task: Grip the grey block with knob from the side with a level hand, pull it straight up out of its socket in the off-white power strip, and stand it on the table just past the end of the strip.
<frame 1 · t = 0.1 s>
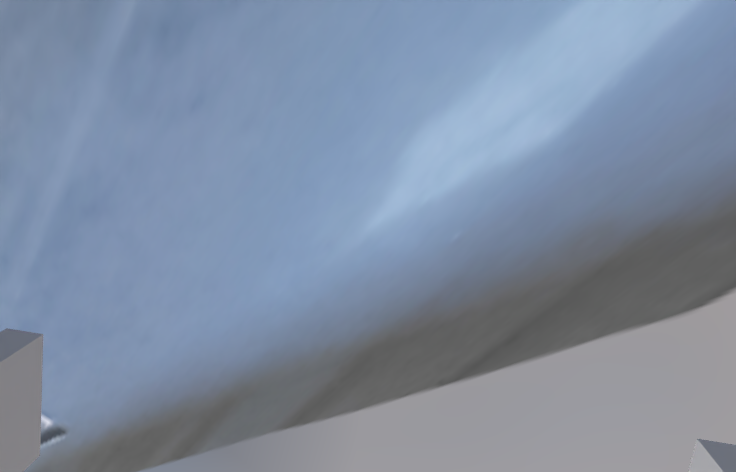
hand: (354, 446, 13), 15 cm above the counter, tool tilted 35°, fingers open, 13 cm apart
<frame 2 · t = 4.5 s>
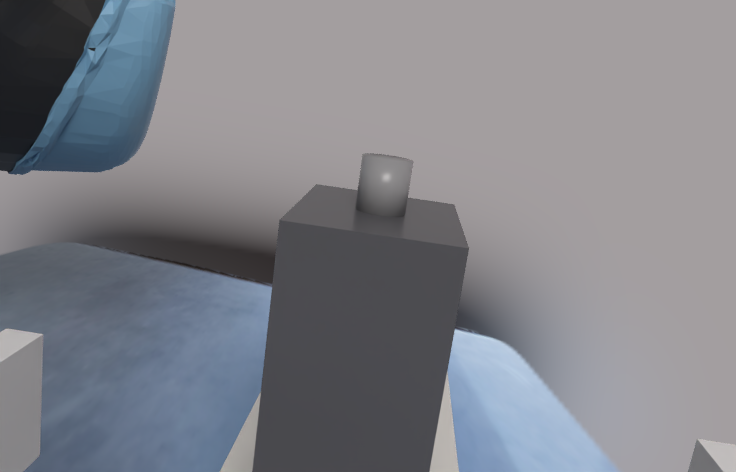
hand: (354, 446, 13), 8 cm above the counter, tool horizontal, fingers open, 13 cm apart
power strip: (349, 457, 28), on the counter
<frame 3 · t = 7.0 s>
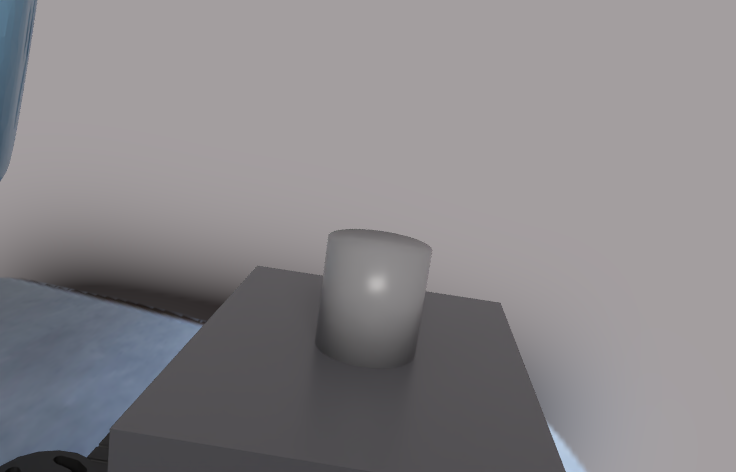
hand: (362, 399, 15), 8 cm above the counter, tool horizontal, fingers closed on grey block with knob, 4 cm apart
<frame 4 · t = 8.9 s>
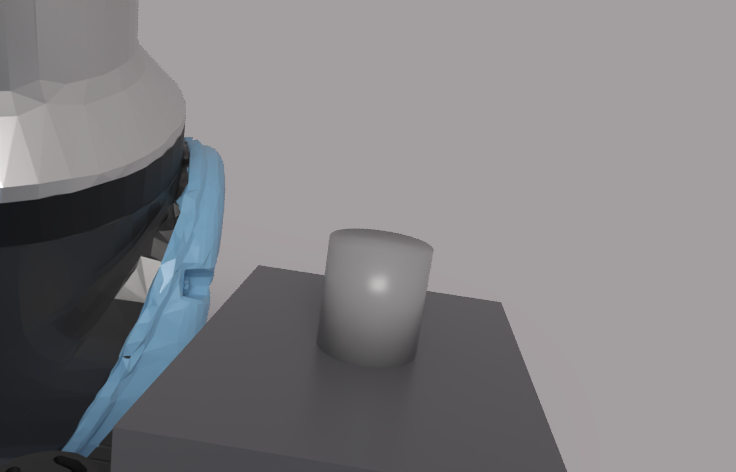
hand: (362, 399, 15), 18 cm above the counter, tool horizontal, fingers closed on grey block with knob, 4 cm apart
when the fingers open (9 cm above the counter, at t = 11.2 s): grey block with knob drops 2 cm, on the counter.
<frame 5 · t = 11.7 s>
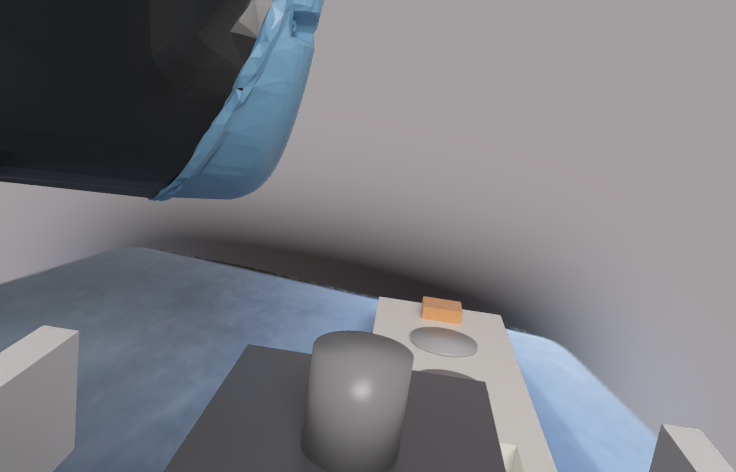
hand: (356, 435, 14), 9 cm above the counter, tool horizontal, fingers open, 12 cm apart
power strip: (439, 443, 31), on the counter
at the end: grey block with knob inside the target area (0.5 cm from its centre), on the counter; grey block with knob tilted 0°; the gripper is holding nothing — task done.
